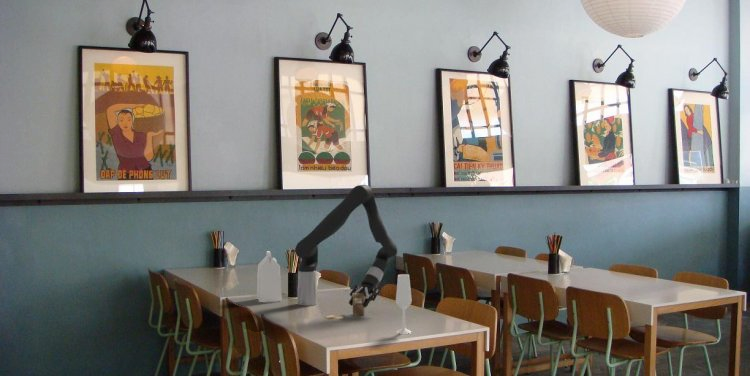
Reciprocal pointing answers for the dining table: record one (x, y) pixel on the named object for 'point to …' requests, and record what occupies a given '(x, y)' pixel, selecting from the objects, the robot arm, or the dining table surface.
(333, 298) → the dining table surface
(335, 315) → the coaster
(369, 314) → the blue-gray tile
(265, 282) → the milk
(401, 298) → the champagne flute
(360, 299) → the walnut block
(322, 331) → the dining table surface
